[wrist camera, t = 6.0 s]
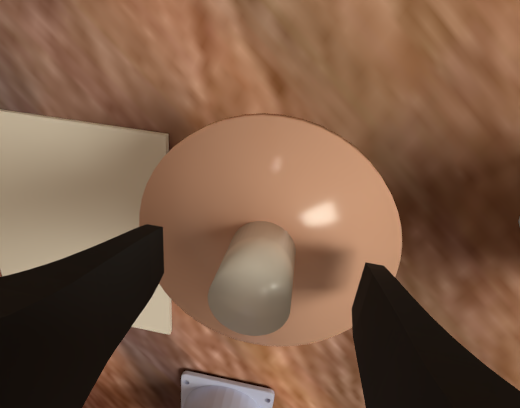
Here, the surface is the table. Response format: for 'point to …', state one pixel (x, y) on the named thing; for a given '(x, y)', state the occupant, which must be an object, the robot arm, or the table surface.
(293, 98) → the table surface
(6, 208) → the mat
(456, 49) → the table surface
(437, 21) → the table surface
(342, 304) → the lid
